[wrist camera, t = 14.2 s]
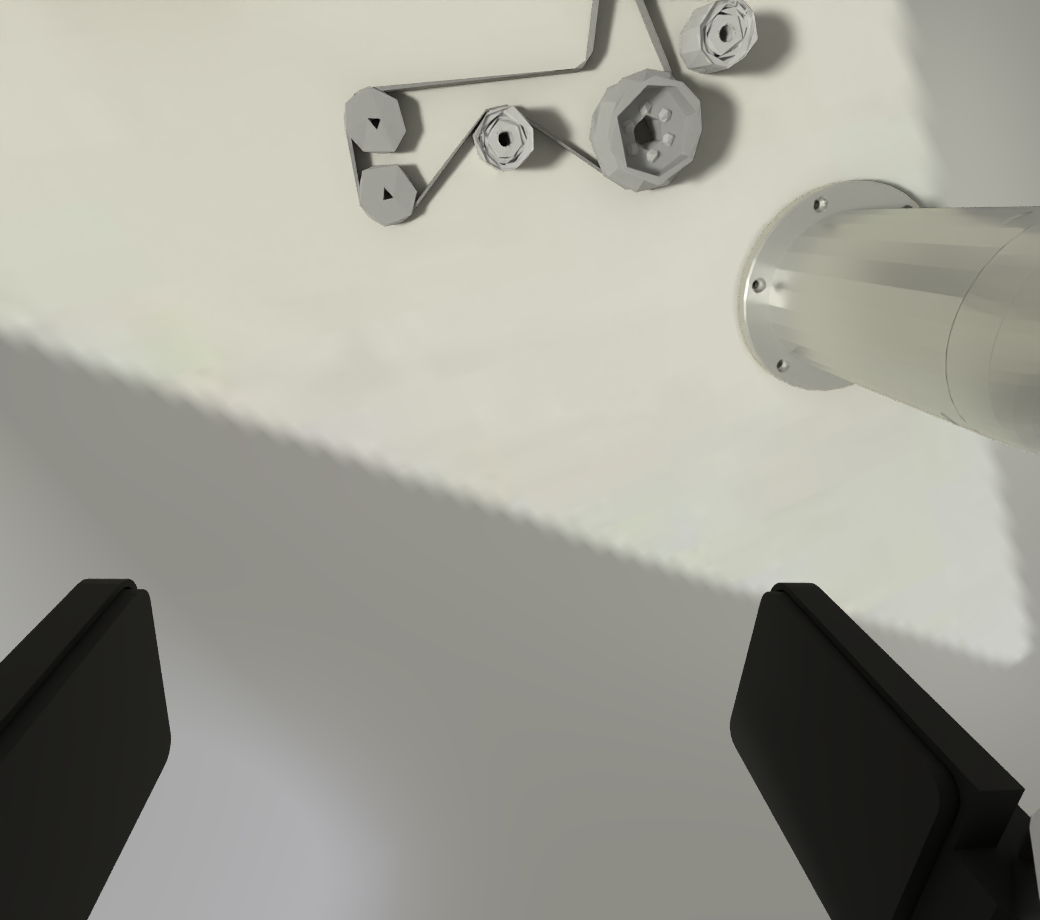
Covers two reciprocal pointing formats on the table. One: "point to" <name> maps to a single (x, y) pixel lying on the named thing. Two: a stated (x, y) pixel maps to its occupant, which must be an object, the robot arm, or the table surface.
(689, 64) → the pulley system
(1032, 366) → the robot arm
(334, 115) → the table surface
